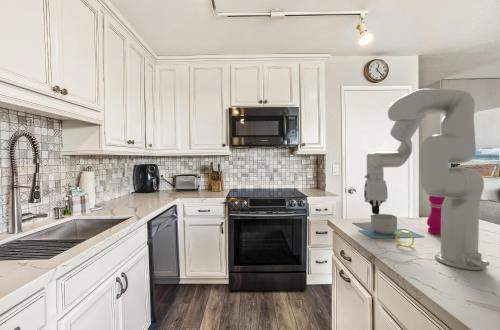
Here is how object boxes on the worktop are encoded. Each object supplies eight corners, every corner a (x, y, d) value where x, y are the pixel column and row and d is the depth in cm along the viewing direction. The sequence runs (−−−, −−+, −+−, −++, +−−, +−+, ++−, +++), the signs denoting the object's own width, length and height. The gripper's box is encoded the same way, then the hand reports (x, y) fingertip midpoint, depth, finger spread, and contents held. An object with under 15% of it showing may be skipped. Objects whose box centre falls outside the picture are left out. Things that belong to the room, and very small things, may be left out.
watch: (413, 247, 97) (415, 232, 96) (412, 249, 94) (414, 234, 94) (395, 242, 100) (397, 228, 100) (394, 244, 98) (396, 230, 98)
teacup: (386, 237, 106) (386, 219, 106) (365, 231, 116) (365, 214, 116) (407, 233, 112) (407, 216, 112) (385, 227, 122) (385, 211, 121)
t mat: (424, 237, 107) (424, 236, 107) (372, 238, 105) (372, 238, 105) (388, 222, 132) (388, 221, 132) (345, 223, 130) (345, 223, 130)
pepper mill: (439, 230, 116) (440, 188, 116) (450, 235, 109) (451, 191, 109) (423, 230, 117) (423, 188, 117) (433, 235, 110) (433, 190, 109)
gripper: (364, 177, 119) (365, 215, 119) (394, 177, 120) (394, 214, 120) (357, 177, 127) (357, 212, 127) (384, 176, 128) (385, 211, 128)
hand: (375, 213), depth 123 cm, fingers closed
